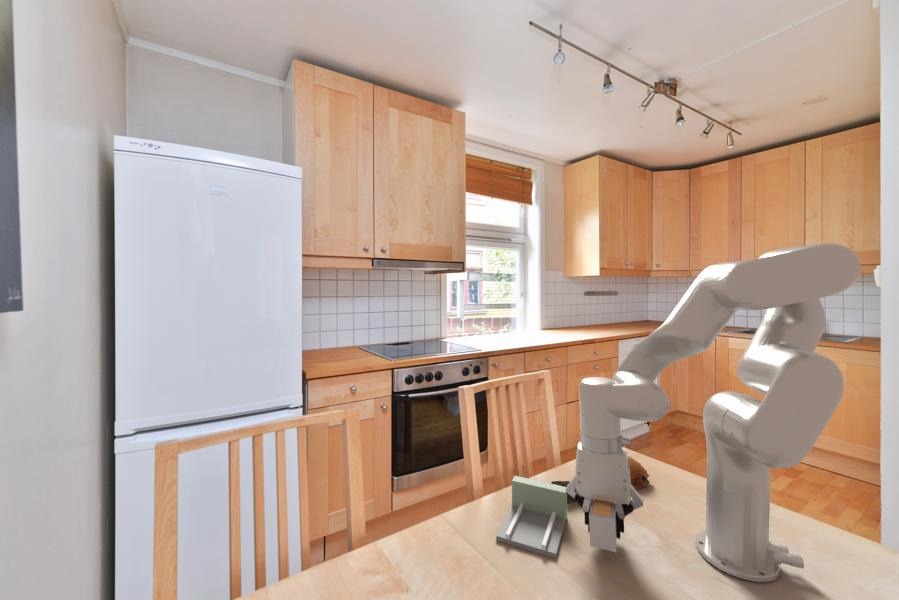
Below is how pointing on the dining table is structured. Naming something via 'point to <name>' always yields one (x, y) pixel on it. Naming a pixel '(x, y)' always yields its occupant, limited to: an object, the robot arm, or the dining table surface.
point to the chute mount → (535, 517)
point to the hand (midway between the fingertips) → (604, 530)
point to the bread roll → (637, 474)
